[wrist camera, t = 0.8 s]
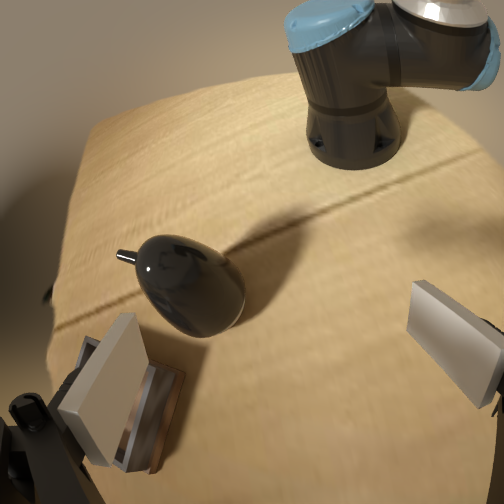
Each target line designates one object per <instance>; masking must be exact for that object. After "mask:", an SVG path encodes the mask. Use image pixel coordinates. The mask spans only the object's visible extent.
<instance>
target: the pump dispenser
mask: <svg viewBox="0 0 504 504" xmlns="http://www.w3.org/2000/svg"><path fill="white" fill-rule="evenodd" d="M116 257H117V259H119V260H122V261H124V262H127V263H130V264H133V265H135V270H136V276H137V279H138V282H139V285H140V287H141V289H142V291H143V292H144V294H145V296H146V297H147V299H148V300H149V302H150V303H151V304H152V306H153V307H154V308H155V309H156V310H157V312H158V313H159V314H160V315H161V316H162V317H163V318H164V319H165V320H166V321H167V322H169V323H170V324H171V325H172V326H173V327H175V328H176V329H177V330H179V331H180V332H182V333H184V334H186V335H188V336H191V337H195V338H206V337H211V336H214V335H218V334H220V333H222V332H224V331H226V330H228V329H229V328H230V327H231V326H233V325H234V324H235V322H236V321H237V320H238V318H239V317H240V315H241V313H242V311H243V308H244V304H245V283H244V279H243V277H242V274H241V272H240V271H239V269H238V268H237V267H236V266H235V265H234V264H233V263H232V262H231V261H230V260H229V259H228V258H226V257H225V256H223V255H222V254H220V253H219V252H217V251H216V250H214V249H212V248H210V247H208V246H206V245H204V244H202V243H200V242H197V241H195V240H192V239H189V238H186V237H183V236H178V235H170V234H164V235H157V236H154V237H151V238H150V239H148V240H147V241H145V242H144V243H143V244H142V246H141V247H140V249H139V250H138V252H134V251H128V250H122V249H119V250H118V251H117V254H116Z"/></svg>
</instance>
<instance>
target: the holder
mask: <svg viewBox="0 0 504 504" xmlns="http://www.w3.org/2000/svg"><path fill="white" fill-rule="evenodd" d="M100 342H101V341H98V340H96V339H93V338H91V337H88V336H85V338H84V341H83V344H82V347H81V351H80V354H79V357H78V360H77V363H76V367H75V369H76V368H78V367H79V368H83V367H84V366H85V364H86V363H87V361H88V360H89V358H90V357H91V355H92V354H93V352H94V351H95V349H96V348H97V346H98V345H99V343H100ZM148 360H149V364H148V366H147V369H146V371H145V374H144V377H143V379H142V382H141V384H140V387H139V390H138V392H137V395H136V398H135V400H134V403H133V406H132V409H131V411H130V414H129V417H128V420H127V422H126V425H125V428H124V431H123V434H122V437H121V440H120V443H119V445H118V448H117V451H116V454H115V457H114V460H113V464H114V465H115V466H117V467H118V468H120V469H121V470H123V471H124V472H126V473H127V472H136V471H144V472H145V473H147V474H155V473H156V470H157V467H158V463H159V460H160V457H161V453H162V450H163V446H164V443H165V439H166V436H167V433H168V429H169V426H170V423H171V419H172V416H173V413H174V409H175V406H176V403H177V400H178V396H179V393H180V390H181V387H182V383H183V380H184V377H185V374H186V373H185V372H182V371H179V370H177V369H174V368H171V367H169V366H166V365H164V364H161V363H158V362H156V361H153V360H151V359H148Z"/></svg>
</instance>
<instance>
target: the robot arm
mask: <svg viewBox="0 0 504 504" xmlns="http://www.w3.org/2000/svg"><path fill="white" fill-rule="evenodd" d="M284 29H285V32H286V36H287V39H288V42H289V46H288V47H289V50H290V51H291V52H292V55H293V57H294V60H295V63H296V66H297V69H298V72H299V75H300V78H301V81H302V84H303V87H304V90H305V94H306V96H307V100H308V103H309V107H308V117H307V127H306V135H307V140H308V143H309V146H310V149H311V151H312V153H313V154H314V155H315V157H316V158H318V159H319V160H320V161H321V162H323V163H325V164H327V165H329V166H332V167H335V168H339V169H344V170H363V169H368V168H372V167H375V166H378V165H380V164H383V163H384V162H386V161H388V160H389V159H390V158H391V157H392V156H393V155H394V154H395V153H396V152H397V150H398V148H399V146H400V141H401V131H400V124H399V121H398V118H397V116H396V114H395V112H394V110H393V107H392V105H391V103H390V101H389V99H388V97H387V90H386V87H422V88H438V89H449V90H456V91H466V90H473V91H479V90H483V89H486V88H487V87H489V86H490V85H491V84H492V82H493V81H494V79H495V77H496V75H497V72H498V70H499V65H500V57H501V53H500V52H499V49H498V48H499V46H500V39H499V35H498V32H497V29H496V26H495V24H494V23H493V21H492V20H491V18H490V17H489V16H488V13H487V9H486V8H485V6H484V5H483V4H482V2H481V1H480V0H392V3H374V0H310V1H307V2H305V3H303V4H301V5H299V6H297V7H296V8H294V9H293V10H292V11H291V12H290V13H289V14H288V15H287V16H286V18H285V21H284ZM407 332H408V333H409V334H410V335H411V336H412V337H413V338H414V339H415V340H416V341H417V342H418V343H419V344H420V345H421V347H422V348H423V349H424V350H425V351H426V352H427V353H428V354H429V355H430V356H431V357H432V358H433V359H434V360H435V362H436V363H437V364H438V365H439V366H440V367H441V368H442V369H443V370H444V371H445V372H446V374H447V375H448V376H449V377H450V378H451V379H452V380H453V381H454V382H455V384H456V385H457V386H458V387H459V388H460V389H461V390H462V391H463V393H464V394H465V395H466V396H467V397H468V398H469V399H470V401H471V402H472V403H473V404H474V405H475V406H476V407H477V409H480V408H482V407H484V406H486V405H488V404H489V403H491V402H492V400H493V397H494V395H495V393H496V391H498V392H499V393H500V394H501V396H500V398H499V400H498V402H497V404H496V407H495V409H494V411H493V413H492V416H491V417H494V415H495V413H496V412H497V411H498V415H497V417H498V418H497V434H496V446H495V455H494V463H493V470H492V476H491V482H490V488H489V493H488V498H487V502H486V504H504V332H501V330H500V329H498V328H497V327H495V326H494V325H493V324H491V323H490V322H489V321H487V320H485V319H482V318H480V317H478V316H476V315H475V314H474V313H472V312H471V311H469V310H468V309H467V308H465V307H464V306H462V305H461V304H460V303H458V302H457V301H455V300H454V299H452V298H451V297H450V296H448V295H447V294H445V293H444V292H442V291H441V290H439V289H438V288H436V287H435V286H433V285H432V284H430V283H429V282H427V281H426V280H420V281H415V282H412V292H411V301H410V309H409V317H408V324H407ZM148 364H149V360H148V357H147V354H146V350H145V347H144V343H143V340H142V336H141V332H140V329H139V325H138V321H137V317H136V313H120V315H119V316H118V318H117V319H116V320H115V322H114V323H113V325H112V326H111V327H110V329H109V330H108V332H107V333H106V335H105V336H104V338H103V339H102V340H101V342H100V343H99V345H98V346H97V348H96V349H95V351H94V352H93V354H92V355H91V357H90V358H89V360H88V361H87V363H86V364H85V366H84V367H83V368H79V367H78V368H76V369H75V370H74V371H72V372H71V373H70V374H69V375H68V376H67V378H66V379H65V381H64V382H63V384H62V385H61V386H60V388H59V391H57V392H56V394H55V395H54V397H53V399H52V400H51V402H50V403H49V405H48V406H47V407H46V405H45V403H44V401H43V400H42V398H41V396H40V395H38V394H36V393H25V394H22V395H20V396H18V397H16V398H15V399H14V400H13V401H12V402H11V404H10V406H9V412H10V414H11V416H12V417H13V419H14V420H15V422H16V424H17V425H18V426H7V425H6V424H5V422H4V420H3V419H2V417H0V504H106V503H105V502H104V500H103V498H102V497H101V495H100V493H99V491H98V490H97V488H96V486H95V484H94V482H93V480H92V479H91V477H90V475H89V473H88V471H87V469H86V467H85V466H84V464H83V463H82V461H83V459H84V456H85V455H86V456H87V458H88V459H89V461H90V462H91V463H92V464H93V465H99V466H105V467H111V466H112V463H113V460H114V457H115V454H116V451H117V448H118V445H119V443H120V440H121V437H122V434H123V431H124V428H125V425H126V422H127V420H128V417H129V414H130V411H131V409H132V406H133V403H134V400H135V398H136V395H137V392H138V390H139V387H140V384H141V382H142V379H143V377H144V374H145V371H146V369H147V366H148Z"/></svg>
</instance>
